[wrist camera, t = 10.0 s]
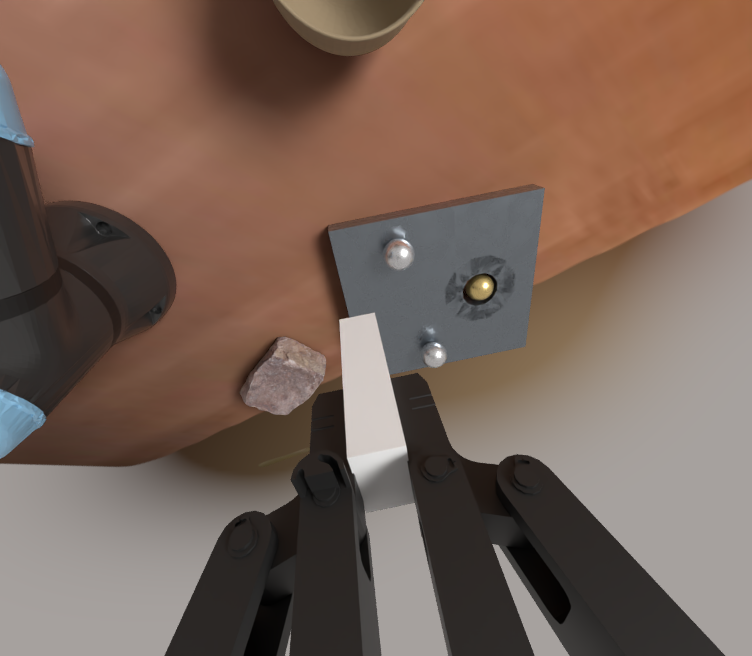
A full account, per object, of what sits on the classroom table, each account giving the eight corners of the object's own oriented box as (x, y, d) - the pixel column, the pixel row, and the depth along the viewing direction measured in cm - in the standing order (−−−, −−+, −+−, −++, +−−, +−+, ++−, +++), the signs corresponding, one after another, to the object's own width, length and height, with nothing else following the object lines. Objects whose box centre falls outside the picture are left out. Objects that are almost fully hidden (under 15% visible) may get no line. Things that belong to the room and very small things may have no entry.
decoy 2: (419, 359, 46) (425, 375, 43) (417, 339, 44) (423, 355, 41) (443, 354, 46) (450, 370, 43) (441, 334, 44) (449, 349, 42)
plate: (363, 368, 49) (364, 379, 47) (328, 225, 37) (328, 231, 35) (517, 336, 50) (525, 346, 48) (532, 184, 37) (544, 188, 35)
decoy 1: (383, 266, 38) (387, 279, 35) (378, 237, 36) (382, 248, 33) (412, 260, 38) (419, 272, 35) (409, 231, 36) (416, 241, 33)
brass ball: (462, 301, 44) (478, 306, 41) (457, 276, 42) (474, 280, 39) (483, 292, 45) (501, 297, 41) (479, 268, 43) (497, 270, 40)
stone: (237, 384, 48) (229, 407, 44) (276, 327, 44) (271, 347, 40) (292, 406, 52) (289, 429, 48) (332, 355, 48) (333, 376, 44)
